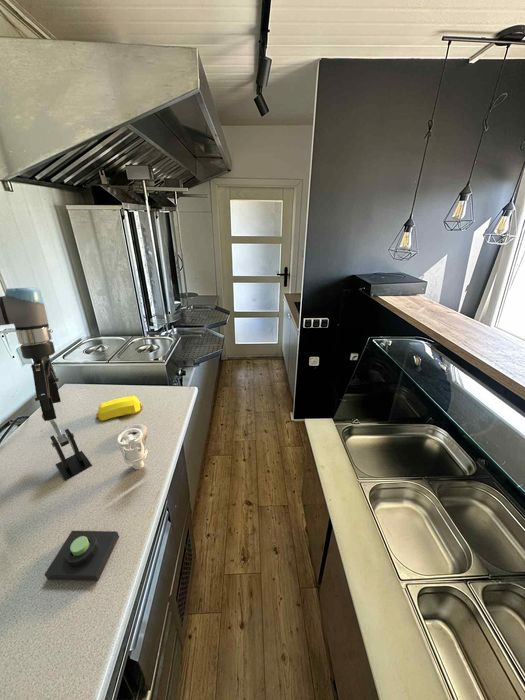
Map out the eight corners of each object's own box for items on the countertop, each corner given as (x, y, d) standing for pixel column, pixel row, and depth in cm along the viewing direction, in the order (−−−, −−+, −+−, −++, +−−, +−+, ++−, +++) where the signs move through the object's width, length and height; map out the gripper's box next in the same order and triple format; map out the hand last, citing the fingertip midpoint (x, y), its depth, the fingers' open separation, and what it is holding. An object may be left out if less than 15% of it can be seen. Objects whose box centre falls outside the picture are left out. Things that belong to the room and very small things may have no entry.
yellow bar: (97, 414, 120) (96, 425, 114) (93, 401, 117) (91, 411, 111) (143, 403, 127) (144, 413, 120) (139, 390, 124) (140, 399, 117)
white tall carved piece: (131, 480, 90) (119, 444, 83) (125, 466, 95) (114, 431, 88) (153, 469, 94) (144, 434, 87) (147, 456, 99) (137, 422, 92)
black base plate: (47, 579, 66) (41, 570, 64) (74, 535, 75) (69, 526, 73) (98, 581, 65) (93, 571, 64) (119, 536, 74) (115, 526, 73)
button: (69, 556, 67) (66, 551, 66) (78, 540, 70) (76, 535, 69) (83, 556, 67) (81, 552, 66) (92, 540, 70) (90, 536, 69)
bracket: (56, 466, 96) (41, 435, 90) (82, 452, 101) (70, 422, 95) (66, 483, 89) (51, 450, 83) (93, 467, 95) (80, 436, 89)
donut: (132, 426, 113) (113, 444, 104) (130, 419, 111) (111, 436, 103) (153, 431, 110) (136, 449, 101) (152, 424, 109) (134, 442, 100)
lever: (41, 416, 95) (38, 410, 92) (53, 411, 97) (51, 405, 95) (59, 449, 89) (57, 443, 87) (72, 443, 92) (70, 437, 89)
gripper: (46, 349, 73) (64, 423, 78) (56, 334, 94) (70, 394, 99) (8, 354, 69) (30, 432, 75) (28, 337, 90) (43, 399, 96)
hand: (53, 410), depth 87 cm, fingers open, 13 cm apart
